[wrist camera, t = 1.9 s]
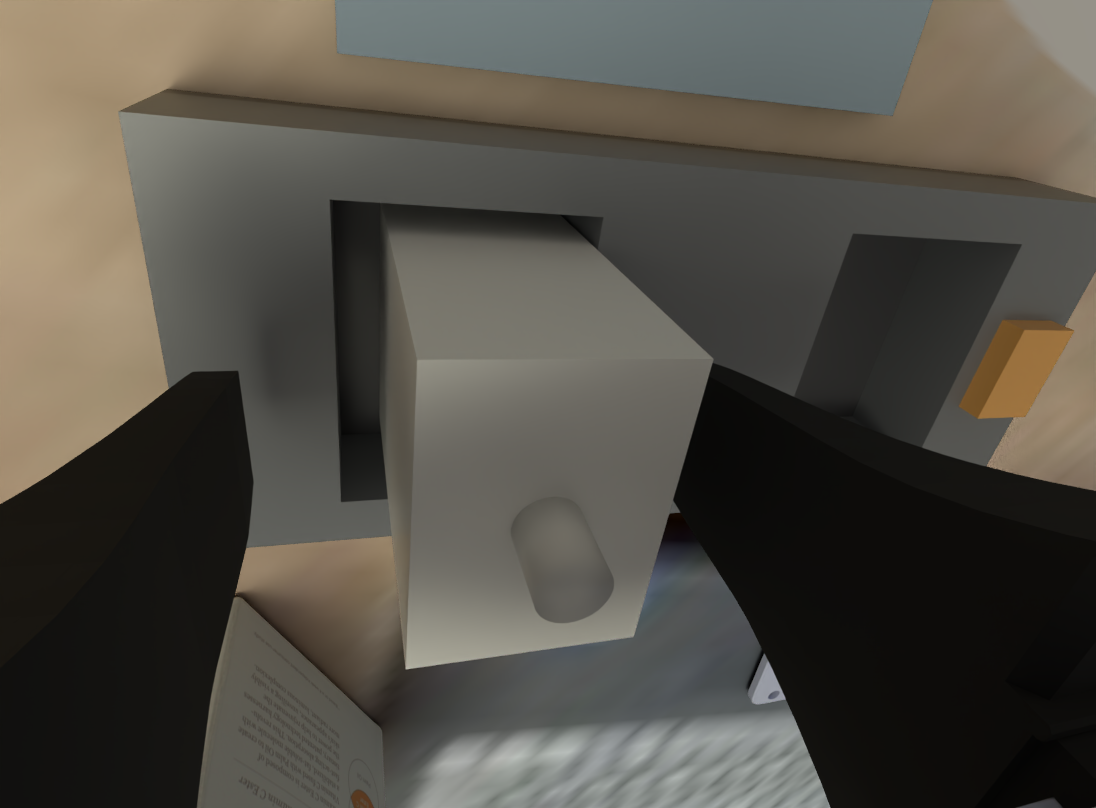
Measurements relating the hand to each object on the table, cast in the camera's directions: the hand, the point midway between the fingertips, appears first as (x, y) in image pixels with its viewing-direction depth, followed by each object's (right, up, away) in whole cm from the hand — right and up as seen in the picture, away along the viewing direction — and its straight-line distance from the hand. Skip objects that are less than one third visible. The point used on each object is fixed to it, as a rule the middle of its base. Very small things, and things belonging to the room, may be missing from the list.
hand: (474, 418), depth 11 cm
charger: (-1, +2, +4) cm, 4 cm away
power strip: (+4, +3, +6) cm, 7 cm away
